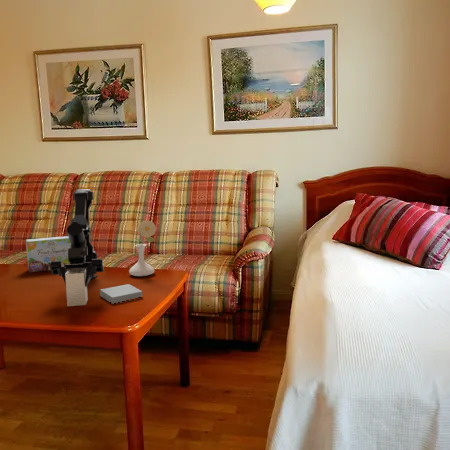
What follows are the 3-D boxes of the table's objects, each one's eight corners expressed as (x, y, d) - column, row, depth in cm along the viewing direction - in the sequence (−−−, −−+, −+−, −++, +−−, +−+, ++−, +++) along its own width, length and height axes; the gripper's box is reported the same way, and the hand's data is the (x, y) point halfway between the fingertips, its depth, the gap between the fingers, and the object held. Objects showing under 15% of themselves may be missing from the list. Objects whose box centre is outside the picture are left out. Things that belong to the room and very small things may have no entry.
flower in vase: (126, 278, 195) (123, 222, 191) (132, 271, 206) (130, 218, 203) (155, 278, 195) (153, 222, 191) (160, 271, 206) (158, 218, 202)
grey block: (100, 297, 171) (99, 289, 171) (129, 291, 178) (128, 284, 178) (112, 305, 162) (112, 297, 161) (142, 298, 169) (142, 291, 168)
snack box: (29, 273, 206) (26, 241, 204) (28, 270, 211) (25, 239, 209) (76, 267, 216) (74, 236, 213) (74, 264, 221) (72, 235, 218)
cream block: (70, 300, 166) (67, 269, 164) (87, 299, 167) (85, 268, 165) (67, 306, 160) (65, 274, 158) (85, 304, 161) (83, 272, 159)
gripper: (48, 239, 162) (44, 277, 153) (101, 237, 165) (100, 273, 156) (53, 256, 171) (50, 292, 162) (103, 253, 174) (103, 288, 165)
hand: (76, 286), depth 161 cm, fingers closed on cream block, 6 cm apart
